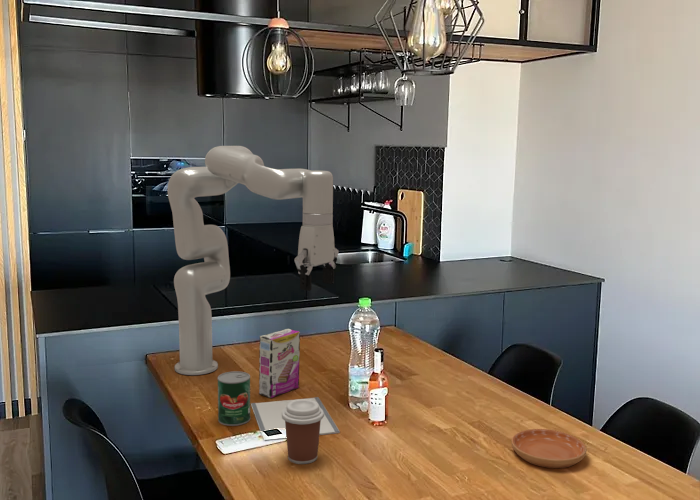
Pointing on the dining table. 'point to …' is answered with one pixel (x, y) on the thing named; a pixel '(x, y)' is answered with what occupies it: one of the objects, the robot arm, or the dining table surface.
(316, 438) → the coffee cup
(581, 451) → the saucer
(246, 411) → the canned tomato
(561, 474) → the dining table surface
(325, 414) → the mat
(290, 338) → the candy bar box
